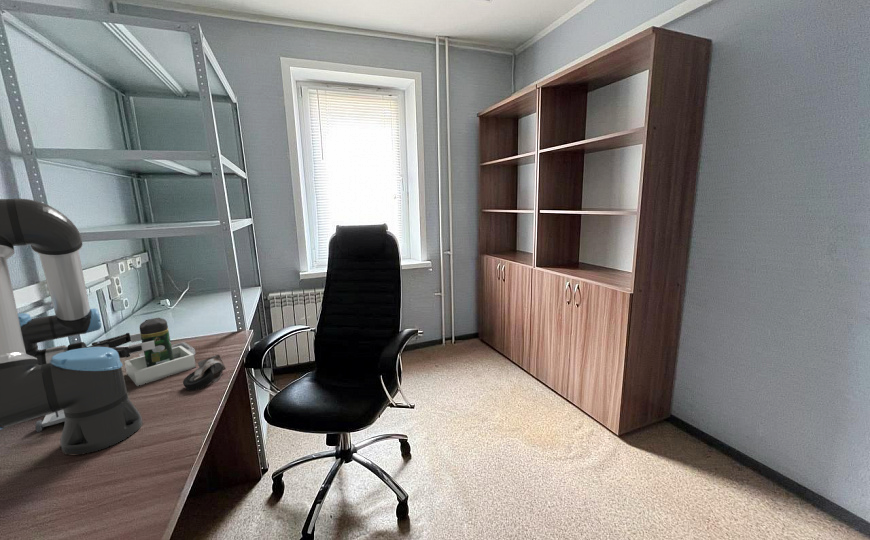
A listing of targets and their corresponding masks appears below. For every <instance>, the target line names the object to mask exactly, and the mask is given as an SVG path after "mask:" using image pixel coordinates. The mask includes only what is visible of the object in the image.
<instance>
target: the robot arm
mask: <svg viewBox="0 0 870 540" xmlns="http://www.w3.org/2000/svg"><path fill="white" fill-rule="evenodd" d="M28 245H29V246H30V247H31V250H32V251H33V252H35V254H38V255H39V259H40V262H41V267H42V269H43V274H44V276H45V277H44V278H45V282H46V284H47V289H48V293H49V295H50V300H51V302H52V306H53V311H54V315H47V316H41V317H35V318H32V317H31V315H30V314H29V313H27V312H25V313H24V312H23V313H22V312H20V313H18V308H17V304H16V299H15V294H14V291H13V285H12V280H11V275H10V271H9V270H10V269H9V265H8V261H7V260H8V259H10V258H11V257H13V256H14V254H15V247H18V246H28ZM82 248H83V240H82V236H81V233H80V231H79V229H78V228H77V226H76V225H75V224H74V223H73V221H72V220H71V219H69V218H68V217H67V216H66V215H65V214H64V213H62V212H61V211H60V210H59V209H56V208H54V207H53V206H51V205H49V204H46V203H45V202H44V203H43V202H41V201H37V200H33V199H29V198H28V199H27V198H0V431H1V430H3V429H6V428H7V427H11V426H12V427H13V426H14V425H18V424H21V423H24V422H27V421H31V420H33V419H37V418H40V417H43V416H44V417H45V416H46V415H47V414H50V413H53V412H57V411H60V410H64V414H65V421H64V422H63V423H64V424H63V429H62V432H61V437H60V440H59V442H60V448H61V452H62V451H63V452H64V453H66V454H65V455H67V454H82V455H84V454H83V453H87V454H90V453H89V452H92V453H94V452H93V451H95V452H98V450H99V451H101V449H102V450H104V449H107V448H110V447H112V446H114V445H117V444H119V443H120V441H121V442H123V441H124V440H126V439H127V437H128V438H129V437H131V436H133V435H134V434H135V433H136V432H137V431H138V430H139V429H140V428H141V427H142V425H143V419H142V415H141V413H140V412H139V410H138V409H137V407H136V406H135V405H134V403H132V401H131V399H130V398H129V395H128V390H127V386H126V381H125V377H124V373H123V362H122V361H121V359H122V358H130V357H131V355H132V354H136V353H140V352H141V353H142V352H144V351H146V350H151V349H155V344H154V341H149V342H144V343H142V340H141V334H140V332H138V333H134V334H131V333H130V332H126V333H124V334H121V335H118V336H113V337H111V338H106V339H103V340H98V341H94V342H92V343H91V345H90V346H87V344H86V342H84V341H81V342H75V343H70V344H68V345H65V344H64V345H63V344H62V345H59V346H54V347H53V346H52V347H48V348H43V349H39V345H38V344H39V343H44V342H47V341H54V340H58V339H64V338H69V337H73V336H74V337H75V336H80V335H86V334H89V333H92V332H97V331H100V329H102V321H101V316H100V312H99V310H98V309H97V308H91V307H90V303H89V298H88V297H89V296H88V293H87V287H86V281H85V277H84V272H83V271H84V270H83V265H82V260H81V256H80V250H81V249H82ZM130 342H131V343H134V344H131V345H128V346H122V345H125V344H128V343H130ZM135 342H139V343H135ZM134 432H135V433H134ZM133 433H134V434H133ZM130 435H131V436H130ZM122 440H123V441H122ZM118 442H119V443H118ZM116 443H117V444H116ZM109 446H110V447H109ZM63 452H62V453H63ZM64 453H63V454H64Z"/></svg>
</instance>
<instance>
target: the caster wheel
mask: <svg viewBox="0 0 870 540" xmlns="http://www.w3.org/2000/svg"><path fill="white" fill-rule="evenodd" d="M197 366H198V368H196V369H195V370H194V371H192V372H191V373H189V374H188V375H187V376H186V377H184V379H183V381H182V385H183V386H184V388H185V390H187V391H189V392H194V391H198V390H200V389H203V388H205V387H206V386H207V385H209V384H213V383H215V382H217V381H218V380H219V379H220V378H221V376H222V374H223V371H225V370H226V369H227V368H226V366H225V364H224V362H223V360H222V357H221V355H220V354H216V355H212V356H210V357H208V358H206V359H203V360H199V361H198V362H197Z"/></svg>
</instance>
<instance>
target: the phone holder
mask: <svg viewBox="0 0 870 540" xmlns="http://www.w3.org/2000/svg"><path fill="white" fill-rule="evenodd" d="M60 423H65V414H64V410H60V411H57V412H53V413H50V414H47V415H44V418H43V420H42V419H40V420H37V421H35V431H36V432H37V433H40V431H41V432H42V431H43V430H44V428H45V427H48V426H53V425H57V424H60ZM42 429H43V430H42Z"/></svg>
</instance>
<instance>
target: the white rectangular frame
mask: <svg viewBox="0 0 870 540" xmlns="http://www.w3.org/2000/svg"><path fill="white" fill-rule="evenodd" d="M177 346H182V347H184V348H185V349H187V350H188V351H190V352H191V353H192V354H194V356H195V355H196V350H195V348H194V347H193V346H192V345H189V344H188V343H187V342H185V341H182V342H179V343H175V344H174V343H173V344H171V347H172V348H174V347H177ZM138 355H139V356H138V357H141V356H145V355H144V352H141V353H140V352H139V353H138ZM174 355H175V356H174ZM174 355H173V357H174V359H175V357H177V358H179V356H180V353H178V354H177V355H176V354H174Z"/></svg>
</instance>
